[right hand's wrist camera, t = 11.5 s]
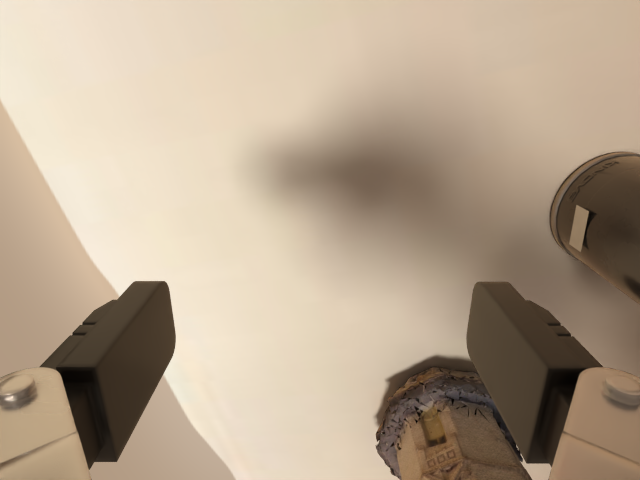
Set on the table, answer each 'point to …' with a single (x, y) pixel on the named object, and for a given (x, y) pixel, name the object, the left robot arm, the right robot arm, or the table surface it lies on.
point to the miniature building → (447, 431)
